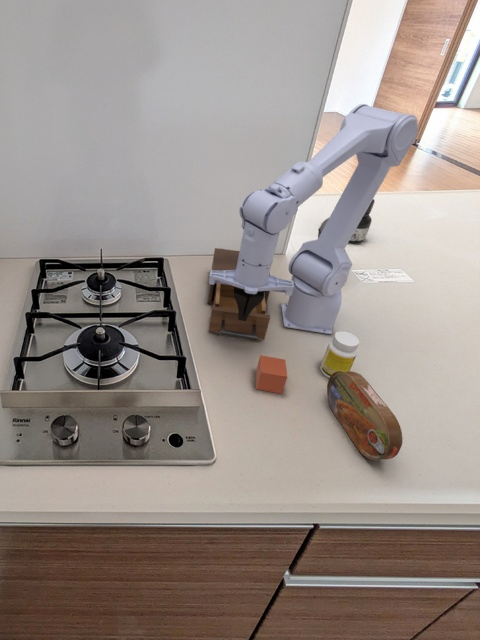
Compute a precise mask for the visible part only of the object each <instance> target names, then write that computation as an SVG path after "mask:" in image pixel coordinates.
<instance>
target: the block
mask: <svg viewBox="0 0 480 640" xmlns="http://www.w3.org/2000/svg"><path fill="white" fill-rule="evenodd" d="M256 365H257V366H256V368H255V386H256V387H255V388H256V390H260V391H265V392H270V393H275V394H279V395H280V394H281V395H282V394H283V392H284V389H285V386H286V382H287V379H288V370H287V362H286V359H284V358H279V357H273V356H267V355H262V354H261V355H259V357H258V362H257V364H256Z"/></svg>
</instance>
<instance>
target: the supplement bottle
mask: <svg viewBox="0 0 480 640" xmlns="http://www.w3.org/2000/svg"><path fill="white" fill-rule="evenodd" d="M359 345H360V339H359V338H358V336H356V335H354V334H353V333H351V332H348V331H344V330H343V331H341V330H340V331H336V333H334V335H333V338H332V340H330V341H329V343H328V344H327V347H326V350H325V352H324V354H323V358H322V359H321V362H320V367H319V369H320V371H321V373H322V374H323V376H325V377H326V378H327V379H329V378H330V376H331V375H332V374H333V373H334V372H337V371H343V372H351V369H352V367H353V365H354V362H355V360H356V357H357V355H358V348H359Z"/></svg>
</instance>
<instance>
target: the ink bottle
mask: <svg viewBox="0 0 480 640" xmlns="http://www.w3.org/2000/svg"><path fill="white" fill-rule="evenodd" d="M375 203H376V202H375V199H374V198H373V200H372V202H371V203H370V205H369V207H368V209H367V210H366V212H365V214H364V216H363V217H362V219H361V221H360V223H359V224H358V226H357V228H356V230H355V231H354V233H353V235H352V237H351V238H350V240H349V242H348V244H352V245H353V244H356V245H357V244H361V243H364V241H365V240H366V238H367V235H368V232H369V230H370V227H371V224H372V221H373V220H372V217H371V216H370V214H371V212H372V210H373V208H374V205H375Z"/></svg>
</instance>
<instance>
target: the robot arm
mask: <svg viewBox="0 0 480 640" xmlns="http://www.w3.org/2000/svg"><path fill="white" fill-rule="evenodd" d="M418 127H419V122H418V118H417V116H416V115H414V114H410V113H407V114H406V113H401V112H397V111H392V110H388V109H384V108H381V107H375V106H370V105H368V104H365V103H360V104H358V105H356V106H355V107H354V108H352V109H351V110H350V112H349V113H348V114H346V115H345V116H344V118H343V120H342V122H341V125H340V128H339V131H338V132H337V133H336V134H335V135H334V136H333V137H332V138H331V139H330V140H329V141H328V142H327V143H325V145H324V146H323V147H322V148H321V149H319V151H318V152H317V153H316V154H315V155H314V156H313V157H312V158H311V159H309V161H308V162H307V161H297V162H296V163H294V165H293V166H291V167H290V168H289V169H288V170H286V171H285V172H284V173H283V174H282V175H280V176H279V177H278V178H277V179H276V180H274V181H273V182H272V183H271V184H269V185H268V186H267V187H266V188H265V189H257V190H254V191H252V192H250V193H249V194H248V195H246V197H245V198H244V200H243V202H242V205H241V206H240V207H239V211H238V212H239V216H240V218H241V221H242V222H241V228H242V230H243V232H242V237H241V243H240V246H239V251H240V252H239V257H238V262H237V267H236V270H225V271H214V270H211V269H210V270H209V276H208V285H210V284H212V285H214V284H215V283H219V284H226V285H232V286H234V297H235V300H236V302H237V306H238V311H239V313H238V320H241V321H246V319H247V317H248V316H249V314H250V313H251V311H252V310H253V309H254V308H255V307H256V306H257V305H258V304H259V303H260V302H262V300H263V299H264V291H270V292H276V293H284V295H285V296H288V299H287V303H281V307H280V308H281V314H282V320H283V321H282V322H283V323H282V324H283V327H285V328H288V329H295V330H300V331H307V332H313V333H319V334H326V335H333V328H334V325H335V323H336V320H337V319H338V315H339V312H340V309H341V306H342V299H343V295H342V289H343V287H344V286H345V284H346V283H347V280H348V275H349V273H350V270H351V269H352V266H353V263H352V260H351V258H350V257H349V255H348V253H347V250H346V248H347V245H348V244H349V243H348V242H349V240H350V238H351V237H352V235H353V233H354V231H355V230H356V228H357V226H358V224H359V223H360V221H361V219H362V217H363V216H364V214H365V212H366V210H367V209H368V207H369V205H370V203H371V202H372V200H373V199H374V198H375V197H376V194H377V193H378V192H379V190H380V188H381V186H382V184H383V182H384V181H385V179H386V177H387V176H388V174H389V172H390V170H391V169H392V168H393V167H398V166H400V165H401V163H402V161H403V160H404V159H405V157H406V155H407V154H408V152H409V150H410V149H411V147H412V145H413V144H414V142H415V140H416V138H417V136H418V134H419V131H418ZM354 156H356V160H357V166H356V167H355V169H354V171H353V173H352V175H351V176H350V179H349V181H348V182H347V184H346V186H345V188H344V190H343V192H342V193H341V195H340V197H339V199H338V200H337V203H336V205H335V206H334V207H333V210H332V212H331V214H330V215H329V217H328V218H329V219H328V218H327V219H328V221H327V223H326V225H325V227H324V229H323V230H322V232H321V234H320V236H319V238H318V237H317V239H314V240H308V241H305V242H303V243H302V244H301V246H300V248H299V249H298V251H296V253H294V255H293V256H292V257H291V258H290V261H289V263H288V272H289V275H291V278H290V279H291V280H288V279H284V278H282V277H277V276H275V275H271V270H272V264H273V261H274V258H275V252H276V249H277V245H278V241H279V237H280V233H281V232H282V231H283V230H285V229H286V228H287V227H288V226H289V225H290V223H291V221H292V219H293V217H294V216H295V215H296V214H297V212H298V211H299V209H298V208H299V207H301V205H302V204H304V203H305V202H306V201H307V200H308V199H310V198H311V197H312V196H313V195H314V194H316V193H317V192H319V190H320V189H321V188H322V187H323V185H324V184H323V183H324V177H326V176H327V175H328V174H330V173H331V172H333V171H334V170H335V169H337V168H338V167H340V166H341V165H342V164H344V163H345V162H346V161H348V160H349V159H351V158H352V157H354ZM269 273H270V275H269Z"/></svg>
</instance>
